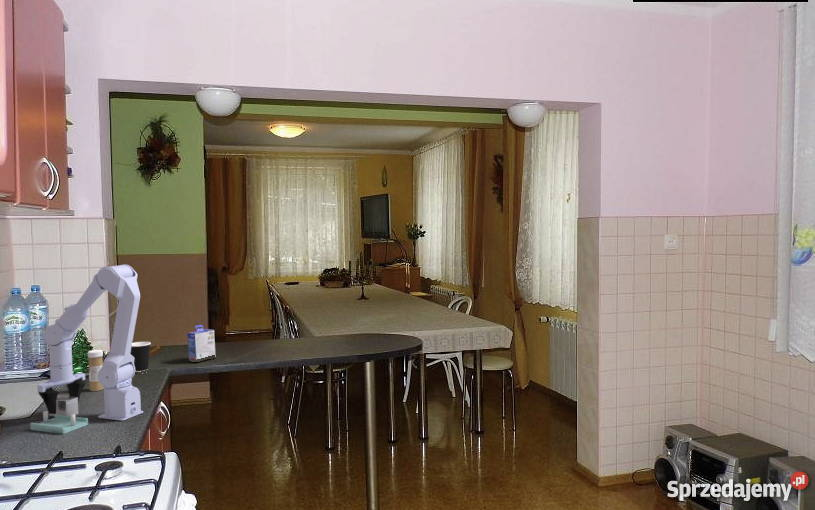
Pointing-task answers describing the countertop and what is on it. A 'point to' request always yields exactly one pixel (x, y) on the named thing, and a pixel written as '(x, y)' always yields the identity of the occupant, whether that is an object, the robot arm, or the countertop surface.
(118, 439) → the countertop surface
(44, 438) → the countertop surface
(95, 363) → the sprinkles bottle
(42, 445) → the countertop surface
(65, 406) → the drive block
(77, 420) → the teal base with pegs
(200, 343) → the ink cartridge box
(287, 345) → the countertop surface
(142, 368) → the dixie cup
